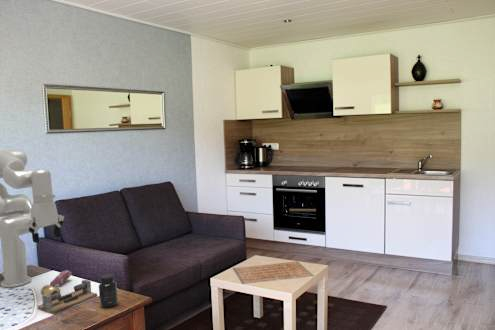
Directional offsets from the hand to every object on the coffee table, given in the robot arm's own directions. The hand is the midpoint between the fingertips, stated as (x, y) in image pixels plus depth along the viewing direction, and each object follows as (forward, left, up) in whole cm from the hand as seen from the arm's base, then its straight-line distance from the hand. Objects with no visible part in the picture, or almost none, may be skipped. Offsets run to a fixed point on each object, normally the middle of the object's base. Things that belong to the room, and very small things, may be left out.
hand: (47, 239), depth 184 cm
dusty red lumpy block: (-10, +12, -25) cm, 29 cm away
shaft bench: (+12, 0, -25) cm, 28 cm away
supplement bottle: (+29, +6, -25) cm, 39 cm away
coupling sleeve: (+1, -1, -25) cm, 25 cm away
